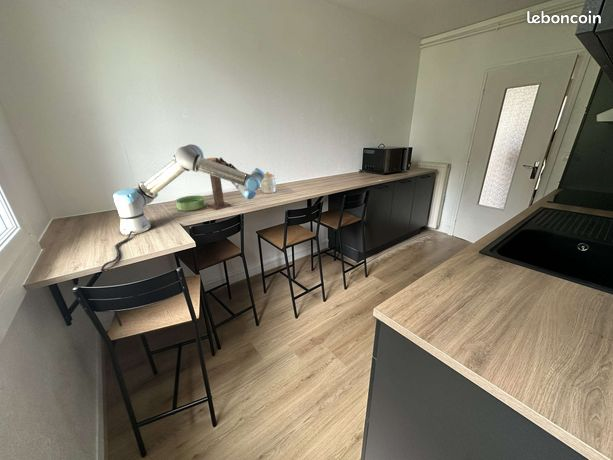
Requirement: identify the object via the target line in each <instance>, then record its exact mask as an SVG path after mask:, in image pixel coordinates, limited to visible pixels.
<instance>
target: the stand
mask: <svg viewBox="0 0 613 460" xmlns="http://www.w3.org/2000/svg"><path fill="white" fill-rule="evenodd" d="M209 178H210V184H211V189H212V196H213V201H214V202H212V203H209V204H207V207H209V208H211V209H213V210H216V211H218V210H221V209H225V208H229V207H232V204H231V203H229V202H226V201H225V199H224V193H223V185H222V179H221V178H218V177H215V176H212V175H210V174H209Z"/></svg>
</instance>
